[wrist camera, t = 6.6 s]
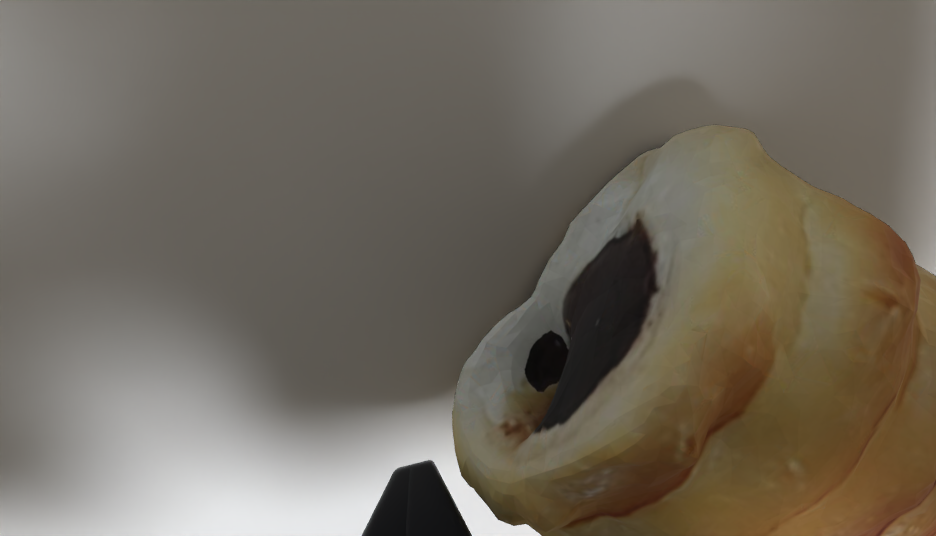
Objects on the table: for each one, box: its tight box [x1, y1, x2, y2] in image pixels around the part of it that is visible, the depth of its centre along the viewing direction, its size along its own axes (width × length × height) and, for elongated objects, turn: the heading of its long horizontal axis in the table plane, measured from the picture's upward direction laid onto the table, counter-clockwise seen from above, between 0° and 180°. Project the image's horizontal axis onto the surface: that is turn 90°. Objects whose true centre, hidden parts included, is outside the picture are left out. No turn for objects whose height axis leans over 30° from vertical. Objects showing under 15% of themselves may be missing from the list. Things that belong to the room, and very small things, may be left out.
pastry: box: [452, 125, 936, 536], centre depth 8 cm, size 9×7×4 cm
